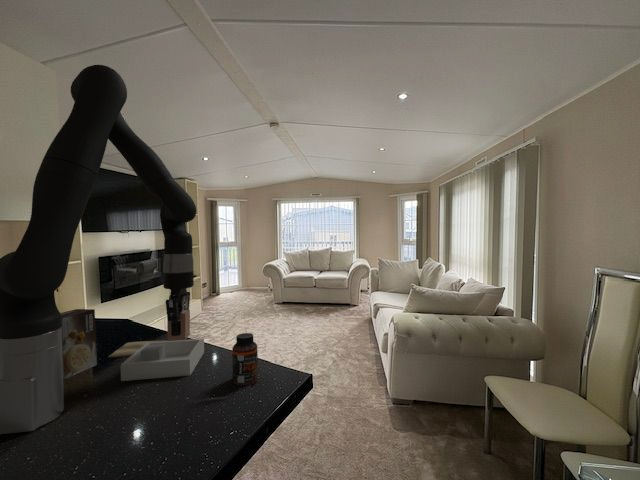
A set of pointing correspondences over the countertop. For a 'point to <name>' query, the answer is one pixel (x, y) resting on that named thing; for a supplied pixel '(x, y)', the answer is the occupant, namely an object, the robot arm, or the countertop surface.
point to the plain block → (153, 353)
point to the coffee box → (78, 341)
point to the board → (130, 348)
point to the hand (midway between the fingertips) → (179, 332)
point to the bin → (164, 361)
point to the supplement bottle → (245, 360)
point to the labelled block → (184, 327)
